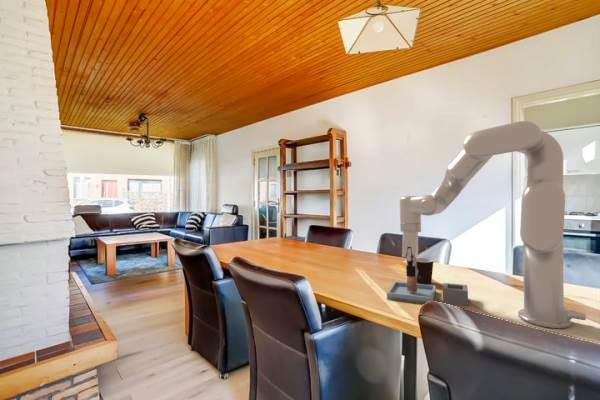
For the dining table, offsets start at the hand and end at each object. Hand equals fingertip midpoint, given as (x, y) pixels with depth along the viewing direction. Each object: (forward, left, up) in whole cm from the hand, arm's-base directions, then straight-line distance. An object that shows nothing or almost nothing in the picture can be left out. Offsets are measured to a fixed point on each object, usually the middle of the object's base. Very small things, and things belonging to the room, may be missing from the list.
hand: (411, 274), depth 119 cm
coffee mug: (-2, -21, -8) cm, 23 cm away
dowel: (0, 0, -6) cm, 6 cm away
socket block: (-15, 0, -8) cm, 17 cm away
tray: (0, 0, -8) cm, 8 cm away
